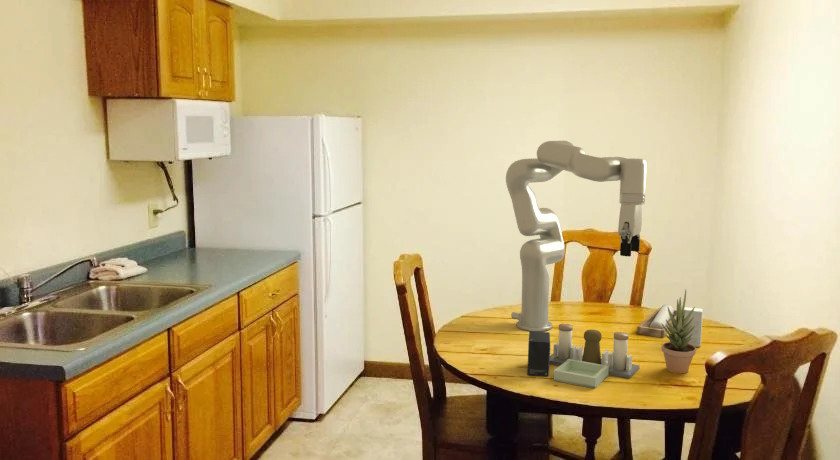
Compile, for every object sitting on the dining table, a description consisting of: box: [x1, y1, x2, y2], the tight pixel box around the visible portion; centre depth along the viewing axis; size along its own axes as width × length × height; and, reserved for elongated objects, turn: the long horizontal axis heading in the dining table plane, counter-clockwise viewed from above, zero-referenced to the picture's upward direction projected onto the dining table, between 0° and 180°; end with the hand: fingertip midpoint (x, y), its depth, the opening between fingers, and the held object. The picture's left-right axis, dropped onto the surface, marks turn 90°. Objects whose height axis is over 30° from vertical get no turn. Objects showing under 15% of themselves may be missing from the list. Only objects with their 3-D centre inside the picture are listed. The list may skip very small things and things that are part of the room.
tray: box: [553, 359, 609, 390], centre depth 209 cm, size 12×12×3 cm
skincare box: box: [684, 306, 704, 348], centre depth 240 cm, size 6×4×12 cm
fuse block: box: [549, 323, 641, 380], centre depth 219 cm, size 26×10×11 cm, turn 58°
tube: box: [649, 304, 675, 329], centre depth 263 cm, size 5×5×25 cm
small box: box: [526, 331, 551, 377], centre depth 215 cm, size 11×6×10 cm, turn 170°
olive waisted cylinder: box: [582, 329, 602, 364], centre depth 219 cm, size 6×6×11 cm
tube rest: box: [636, 307, 677, 338], centre depth 263 cm, size 9×30×2 cm, turn 148°
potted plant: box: [661, 289, 697, 374], centre depth 214 cm, size 10×10×25 cm
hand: (629, 253), depth 227 cm, fingers open, 9 cm apart
